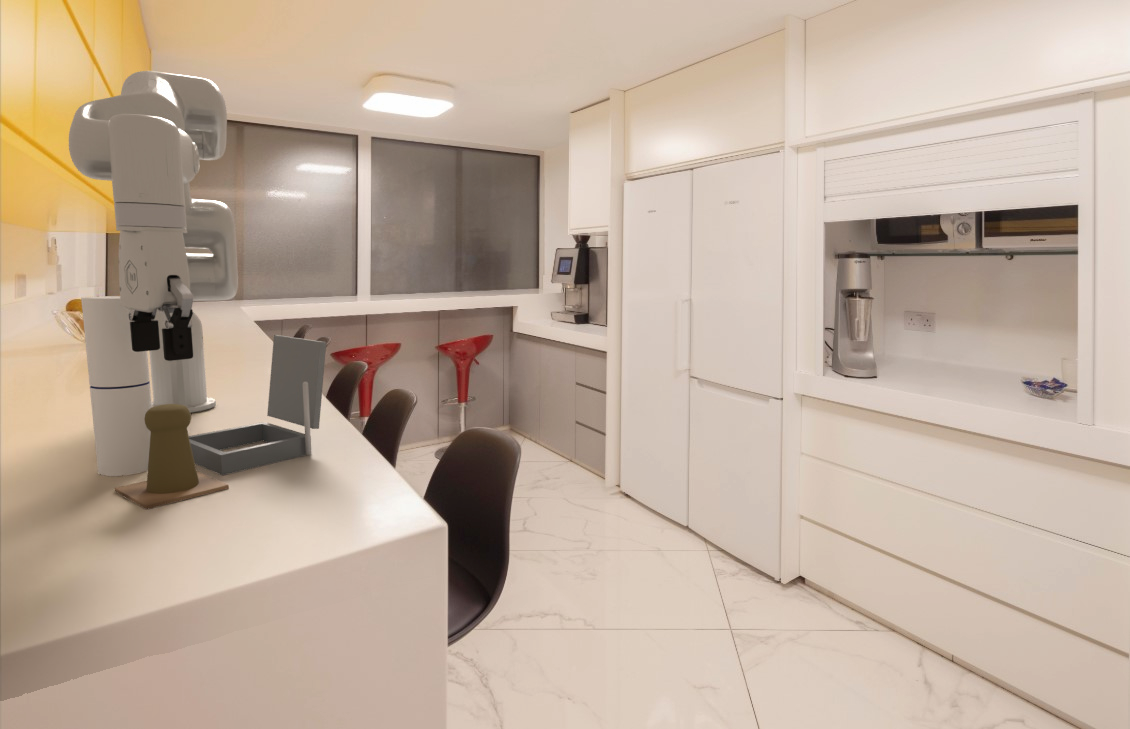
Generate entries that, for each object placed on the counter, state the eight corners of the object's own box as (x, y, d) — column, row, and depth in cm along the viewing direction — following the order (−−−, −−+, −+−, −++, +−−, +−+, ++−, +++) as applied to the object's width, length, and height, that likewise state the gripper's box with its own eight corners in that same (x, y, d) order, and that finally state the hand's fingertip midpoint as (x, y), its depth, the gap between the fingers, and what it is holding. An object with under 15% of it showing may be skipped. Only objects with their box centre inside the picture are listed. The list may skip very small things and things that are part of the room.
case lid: (274, 335, 111) (279, 335, 112) (267, 415, 112) (272, 415, 112) (320, 341, 103) (326, 342, 103) (313, 428, 103) (318, 428, 104)
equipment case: (178, 456, 101) (173, 381, 99) (265, 438, 112) (261, 370, 110) (226, 477, 92) (221, 394, 90) (315, 455, 103) (312, 381, 101)
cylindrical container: (92, 478, 90) (74, 298, 86) (104, 463, 97) (88, 296, 93) (151, 472, 93) (137, 298, 89) (160, 458, 99) (147, 296, 96)
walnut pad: (114, 491, 85) (114, 487, 85) (194, 473, 93) (194, 469, 93) (146, 509, 79) (146, 505, 79) (228, 488, 87) (228, 484, 87)
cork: (135, 489, 85) (128, 407, 83) (178, 476, 90) (172, 398, 89) (167, 496, 82) (161, 412, 81) (209, 482, 88) (204, 403, 86)
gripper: (91, 219, 83) (103, 350, 86) (147, 217, 73) (159, 367, 76) (155, 222, 89) (164, 345, 92) (215, 221, 79) (224, 359, 82)
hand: (162, 354), depth 84 cm, fingers open, 9 cm apart
